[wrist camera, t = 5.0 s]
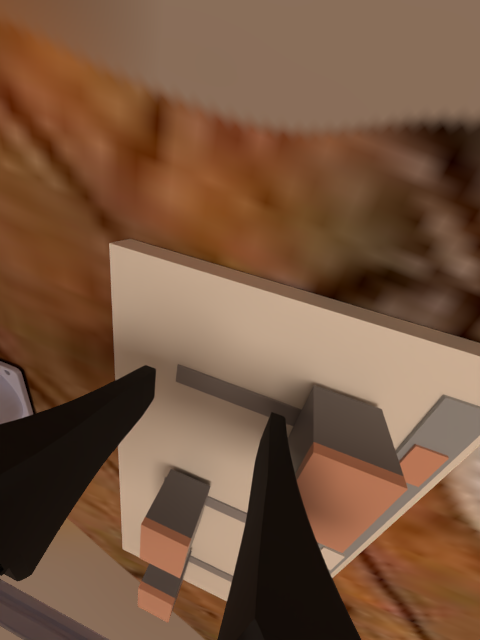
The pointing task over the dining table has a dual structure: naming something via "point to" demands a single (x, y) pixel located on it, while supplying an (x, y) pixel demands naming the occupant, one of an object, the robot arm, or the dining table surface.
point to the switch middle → (173, 522)
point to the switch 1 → (160, 591)
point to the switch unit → (269, 390)
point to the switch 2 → (343, 466)
